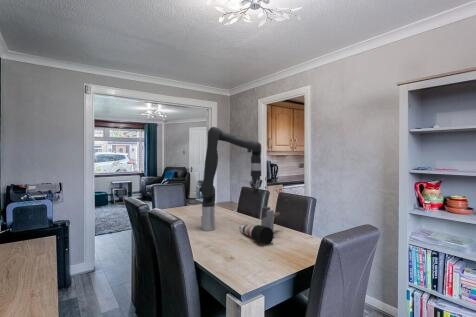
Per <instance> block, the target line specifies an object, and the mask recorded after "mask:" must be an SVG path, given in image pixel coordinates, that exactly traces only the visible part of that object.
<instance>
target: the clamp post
mask: <svg viewBox="0 0 476 317" xmlns="http://www.w3.org/2000/svg"><path fill="white" fill-rule="evenodd" d="M273 213H274V209H270V210H268V211H267V220H266V219H262V218H261V219H260V222H261V224H260V225H261V226H265V227H269V228H271V229H272V231H273V234H274V230H275V229H274V223H275V222H274V218H275V217H274V215H273ZM274 235H275V234H274Z"/></svg>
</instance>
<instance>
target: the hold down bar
mask: <svg viewBox="0 0 476 317" xmlns="http://www.w3.org/2000/svg"><path fill="white" fill-rule="evenodd" d="M268 210H271V207H270V206H263V207H261V219H266V220H267V211H268ZM273 215H274V218H276V217H278V216H280V215H281V212H278V211H277V212H276V211H273Z"/></svg>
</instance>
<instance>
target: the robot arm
mask: <svg viewBox="0 0 476 317" xmlns="http://www.w3.org/2000/svg"><path fill="white" fill-rule="evenodd" d="M219 141H221V142H226V143H230V144H232V145H233V146H234V145H235V146H237V147H240V148H243V149H247V150H249V151H251V157H250V177H251V180H250V181H249V184H250V187H251V189H253V194H254V195H258V194H259V189H260V188H261V186H262V183H263V179H261V176H262V157H261V156H262V144H261V143H260V142H259V141H256V140H252V139H248V138H246V137H242V136H241V135H235V134H231V133H228V132H226V131H224V130H222V129H220V128H218V127H216V126H212V127H210V128H209V129H208V131H207V146H206V152H205V159H204V160H205V161H204V169H203V170H204V171H203V180H202V185H201V189H200V192H201V193H200V194H201V195H202V202H201V216H200V217H201V219H200V220H201V221H200V222H201V225H200V226H201V227H200V229H201V230H202V231H206V232H211V231H214V230H216V224H215V222H216V221H215V220H216V218H215V217H216V214H215V213H216V212H215V211H216V209H215V208H216V206H215V205H216V203H215V202H216V188H215V186H214V180H215V175H216V172H217V170H218V169H217V168H218V163H219V153H218V143H219Z"/></svg>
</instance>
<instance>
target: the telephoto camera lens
mask: <svg viewBox="0 0 476 317" xmlns="http://www.w3.org/2000/svg"><path fill="white" fill-rule="evenodd" d="M238 228H239V230H240V233H241V234H244V235H246V236H248V237H251V238H252V240H253V241H255V242H258V243H261V244H262V245H269V244H271V243H272V241H273V240H274V235H275V234H273V231H272V229H271V228H269V227H265V226H261V224H257V225H247V224H242V225H241V226H239V227H238Z"/></svg>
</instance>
